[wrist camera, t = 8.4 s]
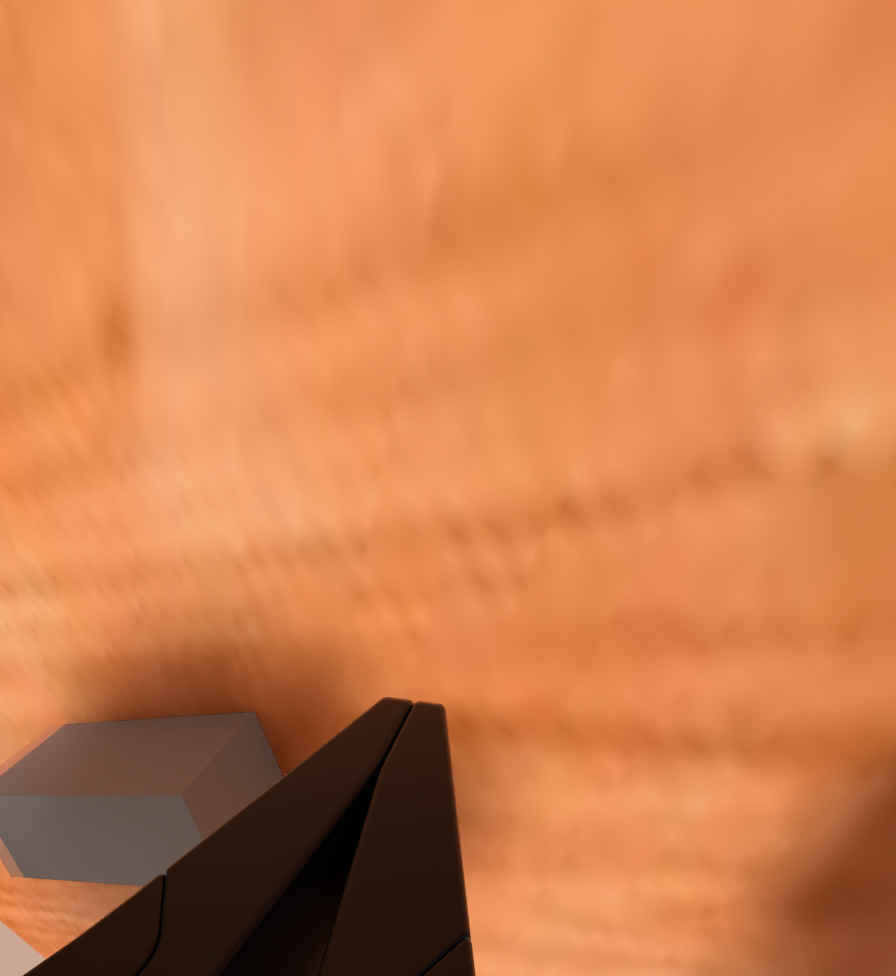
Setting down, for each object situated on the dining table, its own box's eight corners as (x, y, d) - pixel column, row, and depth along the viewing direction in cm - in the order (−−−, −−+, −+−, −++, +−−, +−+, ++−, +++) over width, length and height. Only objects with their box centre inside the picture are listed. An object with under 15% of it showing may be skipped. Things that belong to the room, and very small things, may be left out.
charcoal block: (180, 794, 24) (-38, 795, 30) (229, 892, 26) (11, 876, 31) (254, 711, 29) (53, 724, 34) (293, 798, 30) (93, 798, 35)
